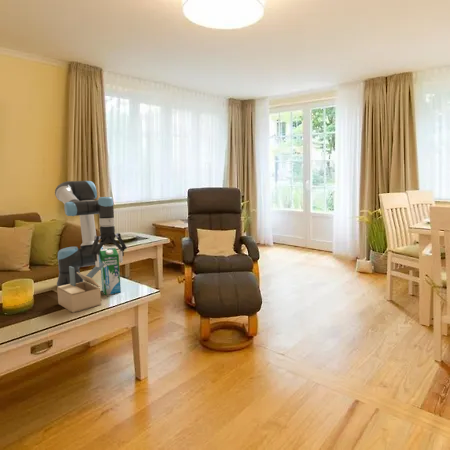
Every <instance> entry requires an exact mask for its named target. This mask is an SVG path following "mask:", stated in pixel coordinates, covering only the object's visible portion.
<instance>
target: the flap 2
mask: <svg viewBox="0 0 450 450" xmlns="http://www.w3.org/2000/svg"><path fill="white" fill-rule="evenodd" d="M104 265H105V264H104V263H101V262H99V267H96V265H94V267H93V268H92V269H91V270H90V271H89V272H88V273H87V274H83V273H81V272H80V273H78V272H77V274H78V275H79V276H80V277H81V278H82V279H83V282H87V283H89V284H91V285H94V286H96V287H98V288H100V285H99V284H98V283H97V282H96V281H95V280H94V279H93V278H94V276H95V275H96V274H97V273H99V271H101V268H102V267H103V266H104Z"/></svg>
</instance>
